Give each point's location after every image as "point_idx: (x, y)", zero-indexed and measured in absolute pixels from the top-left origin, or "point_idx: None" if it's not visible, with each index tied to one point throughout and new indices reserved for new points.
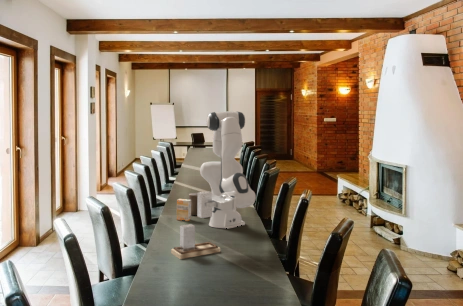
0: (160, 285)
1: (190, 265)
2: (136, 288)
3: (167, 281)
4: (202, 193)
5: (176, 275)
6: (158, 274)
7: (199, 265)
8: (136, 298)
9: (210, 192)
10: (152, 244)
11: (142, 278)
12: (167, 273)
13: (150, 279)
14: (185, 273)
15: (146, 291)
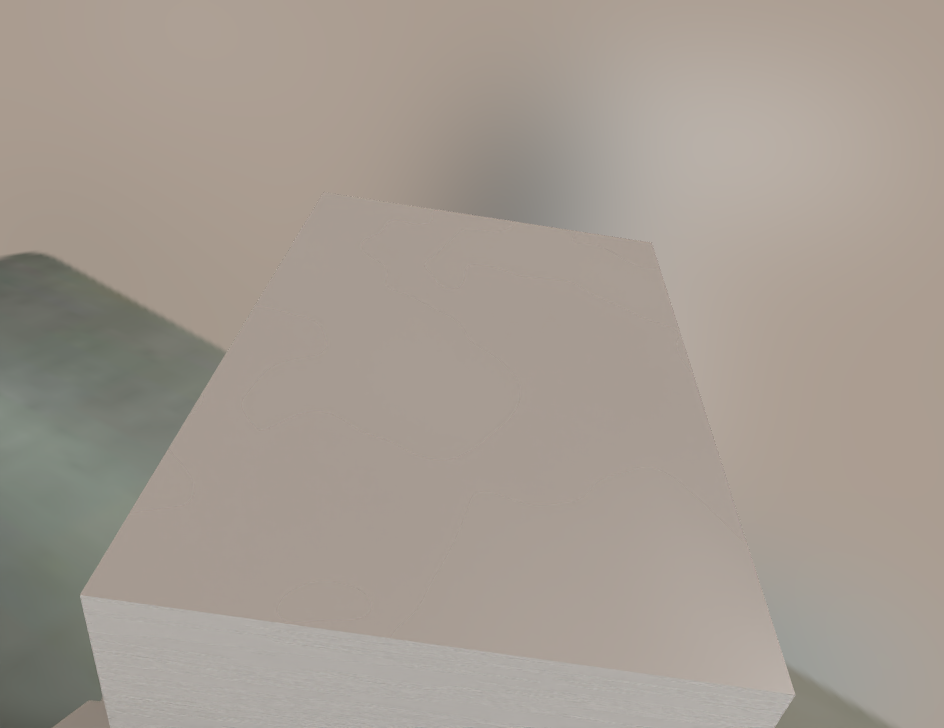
0: (25, 363)
1: (90, 655)
2: (114, 301)
3: (28, 404)
4: (342, 221)
5: (43, 476)
6: (167, 422)
7: (4, 721)
8: (26, 266)
9: (269, 554)
10: (846, 701)
11: (196, 356)
12: (129, 459)
13: (145, 370)
14: (3, 532)
15: (40, 307)
